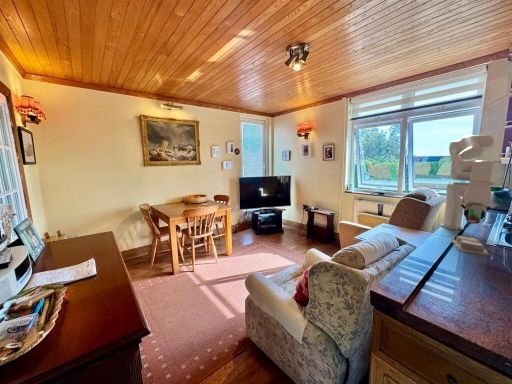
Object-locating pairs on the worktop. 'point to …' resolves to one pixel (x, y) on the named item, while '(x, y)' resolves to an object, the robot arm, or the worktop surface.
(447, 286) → the worktop surface
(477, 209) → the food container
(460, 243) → the beige rectangular frame
